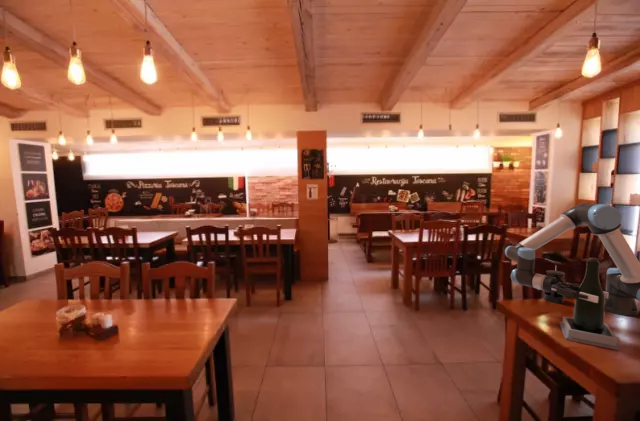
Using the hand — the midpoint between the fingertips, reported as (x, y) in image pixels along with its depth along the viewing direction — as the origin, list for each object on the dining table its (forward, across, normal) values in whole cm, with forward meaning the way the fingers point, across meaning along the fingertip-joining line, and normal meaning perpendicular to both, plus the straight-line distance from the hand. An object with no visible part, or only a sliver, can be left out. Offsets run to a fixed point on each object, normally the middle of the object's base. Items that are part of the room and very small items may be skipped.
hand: (602, 297), depth 137 cm
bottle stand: (-4, 0, -19) cm, 20 cm away
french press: (-33, -36, -20) cm, 53 cm away
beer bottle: (-4, 0, -17) cm, 17 cm away
